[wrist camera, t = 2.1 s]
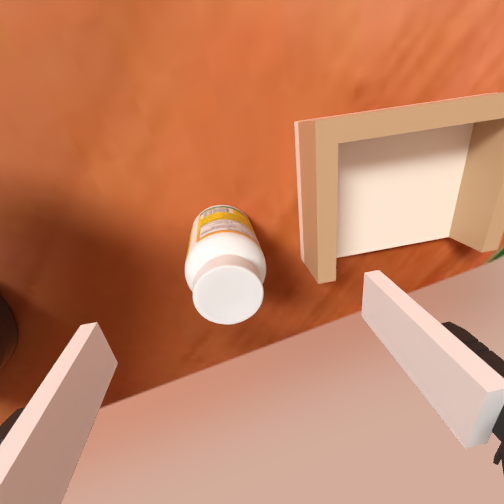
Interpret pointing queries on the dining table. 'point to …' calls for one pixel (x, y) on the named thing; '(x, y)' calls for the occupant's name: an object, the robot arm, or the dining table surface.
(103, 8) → the dining table surface
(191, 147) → the dining table surface
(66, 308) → the dining table surface
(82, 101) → the dining table surface
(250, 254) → the supplement bottle
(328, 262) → the u rest
